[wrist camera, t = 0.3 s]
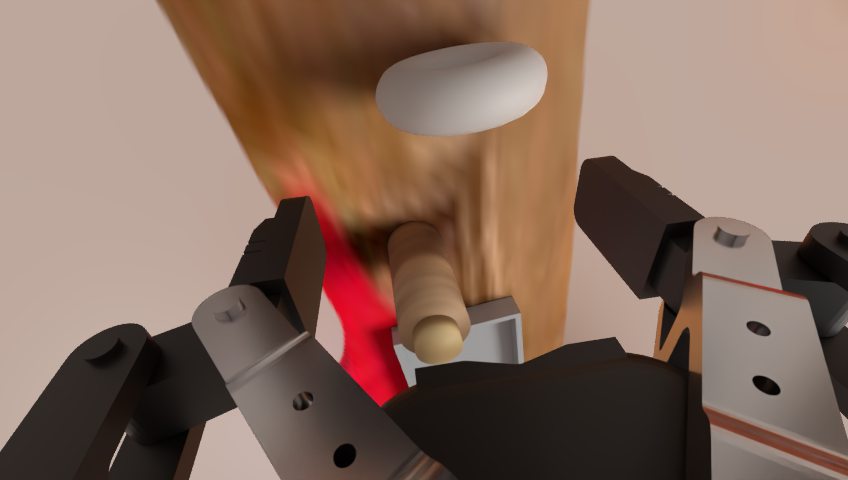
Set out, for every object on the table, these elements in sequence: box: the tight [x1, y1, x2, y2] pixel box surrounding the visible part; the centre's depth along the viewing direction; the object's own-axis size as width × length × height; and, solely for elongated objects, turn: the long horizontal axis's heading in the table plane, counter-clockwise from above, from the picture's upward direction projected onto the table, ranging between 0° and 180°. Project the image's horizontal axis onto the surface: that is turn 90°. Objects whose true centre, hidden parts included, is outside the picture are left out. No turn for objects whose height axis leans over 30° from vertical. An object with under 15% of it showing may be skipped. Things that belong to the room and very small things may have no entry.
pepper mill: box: [387, 221, 471, 365], centre depth 29 cm, size 5×5×12 cm
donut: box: [375, 42, 548, 136], centre depth 22 cm, size 10×4×10 cm, turn 99°
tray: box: [391, 296, 524, 387], centre depth 43 cm, size 14×13×2 cm
